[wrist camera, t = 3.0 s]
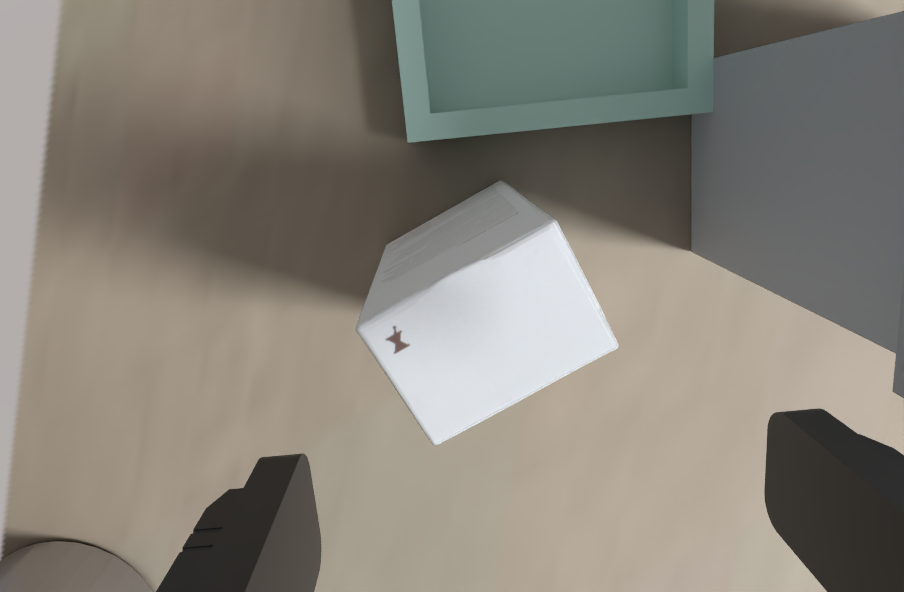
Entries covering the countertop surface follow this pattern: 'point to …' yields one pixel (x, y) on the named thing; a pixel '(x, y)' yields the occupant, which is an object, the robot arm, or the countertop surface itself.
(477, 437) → the countertop surface
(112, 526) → the countertop surface
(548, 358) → the skincare box
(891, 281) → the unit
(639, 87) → the tray
